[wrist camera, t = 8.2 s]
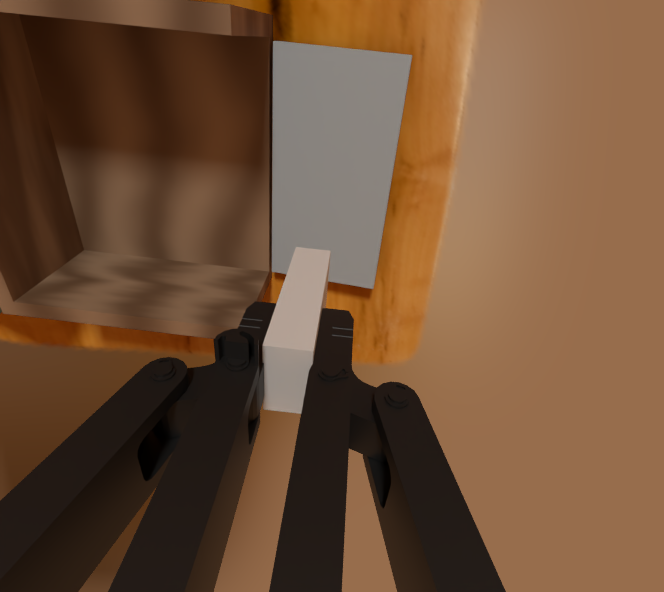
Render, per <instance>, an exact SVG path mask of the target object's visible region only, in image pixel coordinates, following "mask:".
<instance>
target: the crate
mask: <svg viewBox="0 0 664 592" xmlns="http://www.w3.org/2000/svg"><path fill="white" fill-rule="evenodd" d="M272 63H273V15H270V14H266V13H262V12H258V11H254V10H250V9H246V8H242V7H238V6H234V5H229V4H219V3H209V2H200V1H190V0H0V308H1V310H2V312H3V314H11V315H19V316H28V317H36V318H44V319H53V320H61V321H69V322H78V323H86V324H94V325H103V326H111V327H119V328H128V329H136V330H144V331H153V332H161V333H169V334H178V335H186V336H195V337H203V338H211V339H215V337H216V336H217V335H218V334H220V333H222V332H223V331H226V330H230V329H238V326H239V324H240V322H241V320H242V317H243V315H244V313H245V311H246V308H248V307H249V306H250V305H251V304H253V303H254V302H255V301H257V302H262V299H263V297H264V294H265V292H266V290H267V287H268V285H269V282H270V280H271V278H272Z"/></svg>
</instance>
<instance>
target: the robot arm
mask: <svg viewBox="0 0 664 592" xmlns="http://www.w3.org/2000/svg"><path fill="white" fill-rule="evenodd" d="M330 254H331V251H329V250H319V249H310V248H301V247H296V249H295V251H294V254H293V257H292V260H291V263H290V266H289V269H288V272H287V275H286V278H285V281H284V284H283V287H282V290H281V292H280V295H279V298H278V301H277V304H275V303H266V302H257V301H255V302H254V303H253V304H251V305H250V306H249V307H248V308H246V311H245V313H244V315H243V317H242V320H241V322H240V324H239V326H238V329H230V330H226V331H223V332H222V333H220V334H218V335H217V336H216V337H215V339H214V349H215V359H216V361H215V363H213V364H211V365H207V366H202V367H195V368H187V366H186V365H185V363H184V362H183V361H181V360H179V359H177V358H170V357H167V358H160V359H157V360H154V361H152V362H150V363H149V364H147V365H145V366H144V367H143V368H142V369H141V370H140V371H139V372H138V373H137V374H135V375H134V376H133V377H132V378H131V379H130V380H129V381H128V382H127V383H126V384H125V385H124V386H123V387H122V388H120V389H119V390H118V391H117V392H116V393H115V394H114V395H113V396H112V397H111V398H110V399H109V400H108V401H107V402H106V403H104V405H102V406H101V407H100V408H99V409H98V410H97V411H96V412H95V413H94V414H93V415H92V416H91V417H89V418H88V419H87V420H86V421H85V422H84V423H83V424H82V425H81V426H80V427H79V428H78V429H77V430H76V431H75V432H74V433H72V434H71V435H70V436H69V437H68V438H67V439H66V440H65V441H64V442H63V443H62V444H61V445H60V446H58V447H57V448H56V449H55V450H54V451H53V452H52V453H51V454H50V455H49V456H48V457H47V458H46V459H45V460H43V461H42V462H41V463H40V464H39V465H38V466H37V467H36V468H35V469H34V470H33V471H32V472H31V473H30V474H29V475H27V476H26V477H25V478H24V479H23V480H22V481H21V482H20V483H19V484H18V485H17V486H16V487H15V488H14V489H12V490H11V491H10V493H8V494H7V495H6V496H5V497H4V498H3V499H2V500H1V501H0V592H78V591H79V590H80V588H81V587H82V586H83V584H84V583H85V582H86V580H87V579H88V578H89V576H90V575H91V574H92V572H93V571H94V570H95V568H96V567H97V566H98V564H99V563H100V562H101V560H102V559H103V558H104V556H105V555H106V554H107V552H108V551H109V549H110V548H111V547H112V546H113V544H114V543H115V542H116V540H117V539H118V537H119V536H120V535H121V534H122V532H123V531H124V529H125V528H126V527H127V525H128V524H129V523H130V521H131V520H132V519H133V517H134V516H135V515H136V513H137V512H138V511H139V509H140V508H141V507H142V505H143V504H144V503H145V501H146V500H147V499H148V497H149V496H150V495H151V493H152V492H153V490H154V489H155V488H156V487H157V488H156V490H155V492H154V494H153V496H152V499H151V501H150V503H149V505H148V507H147V509H146V512H145V514H144V516H143V518H142V520H141V522H140V524H139V527H138V529H137V531H136V533H135V535H134V538H133V540H132V542H131V544H130V546H129V548H128V550H127V552H126V554H125V557H124V559H123V561H122V563H121V565H120V567H119V569H118V572H117V574H116V576H115V578H114V580H113V582H112V584H111V587H110V589H109V591H108V592H214V588H215V584H216V581H217V577H218V573H219V570H220V566H221V563H222V558H223V555H224V551H225V548H226V544H227V541H228V537H229V533H230V530H231V526H232V523H233V519H234V515H235V512H236V508H237V504H238V501H239V497H240V494H241V490H242V486H243V483H244V479H245V475H246V472H247V468H248V465H249V461H250V457H251V454H252V449H253V446H254V442H255V439H256V435H257V432H258V428H259V424H260V409H261V406H262V403H263V409H265V410H273V411H283V412H291V413H299V414H301V418H300V424H299V429H298V435H297V440H296V446H295V452H294V457H293V462H292V468H291V473H290V479H289V484H288V490H287V495H286V502H285V507H284V512H283V518H282V523H281V529H280V535H279V540H278V546H277V551H276V557H275V562H274V568H273V573H272V579H271V584H270V590H269V592H342V573H343V552H344V532H345V512H346V492H347V470H348V451H349V448H350V449H352V450H354V451H357V452H359V453H361V454H363V459H364V463H365V467H366V471H367V475H368V479H369V483H370V487H371V490H372V494H373V498H374V502H375V506H376V510H377V514H378V517H379V522H380V526H381V530H382V534H383V538H384V541H385V545H386V549H387V553H388V557H389V561H390V565H391V569H392V572H393V576H394V580H395V584H396V588H397V592H506V591H505V589H504V587H503V585H502V582H501V580H500V578H499V576H498V573H497V571H496V569H495V567H494V565H493V562H492V560H491V558H490V556H489V553H488V551H487V549H486V547H485V545H484V542H483V540H482V538H481V536H480V533H479V531H478V529H477V527H476V524H475V522H474V520H473V518H472V515H471V513H470V511H469V509H468V506H467V504H466V502H465V500H464V497H463V495H462V493H461V491H460V488H459V486H458V484H457V482H456V480H455V477H454V475H453V473H452V471H451V468H450V466H449V464H448V462H447V459H446V457H445V455H444V453H443V450H442V448H441V446H440V444H439V442H438V439H437V437H436V435H435V433H434V430H433V428H432V426H431V424H430V422H429V419H428V417H427V415H426V412H425V410H424V408H423V406H422V404H421V401H420V399H419V397H418V395H417V394H416V393H415V391H414V390H413V389H411V388H409V387H408V386H407V385H404V384H402V383H399V382H387V383H383V384H381V385H380V386H379V387H377V388H376V387H373V386H370V385H368V384H366V383H364V382H362V381H361V380H360V379H358V378H357V377H356V375H355V374H354V372H353V371H352V365H351V364H352V344H353V323H354V319H353V318H352V316H351V314H350V312H349V311H346V310H337V309H328V308H325V307H326V298H327V287H328V276H329V265H330ZM157 485H158V486H157Z"/></svg>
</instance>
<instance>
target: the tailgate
mask: <svg viewBox="0 0 664 592" xmlns="http://www.w3.org/2000/svg"><path fill="white" fill-rule="evenodd" d="M411 61H412V55H406V54H397V53H387V52H378V51H368V50H359V49H349V48H340V47H330V46H321V45H311V44H302V43H292V42H283V41H273V143H272V272H277V273H283V274H287V272H288V269H289V266H290V263H291V260H292V257H293V254H294V251H295V249H296V247H301V248H310V249H319V250H329V251H331V254H330V265H329V276H328V281H329V282H335V283H341V284H347V285H353V286H358V287H364V288H370V289H373V287H374V282H375V276H376V270H377V264H378V258H379V252H380V246H381V240H382V234H383V228H384V222H385V216H386V210H387V204H388V198H389V192H390V186H391V180H392V174H393V168H394V162H395V156H396V151H397V145H398V139H399V133H400V127H401V121H402V115H403V109H404V103H405V97H406V91H407V85H408V79H409V73H410V67H411Z"/></svg>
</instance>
